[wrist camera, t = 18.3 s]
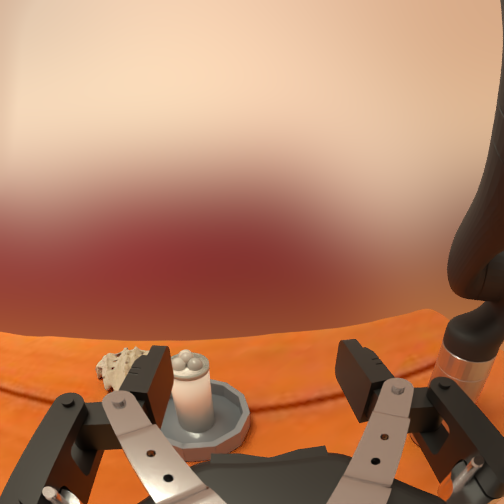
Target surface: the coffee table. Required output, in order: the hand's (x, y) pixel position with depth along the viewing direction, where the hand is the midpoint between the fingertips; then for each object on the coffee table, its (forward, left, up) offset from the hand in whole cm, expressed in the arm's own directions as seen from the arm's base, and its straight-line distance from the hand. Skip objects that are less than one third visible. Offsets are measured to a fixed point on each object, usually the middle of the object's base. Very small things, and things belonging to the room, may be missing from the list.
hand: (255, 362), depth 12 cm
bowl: (+4, -23, -28) cm, 37 cm away
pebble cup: (+4, -23, -27) cm, 36 cm away
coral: (+19, -38, -28) cm, 51 cm away
